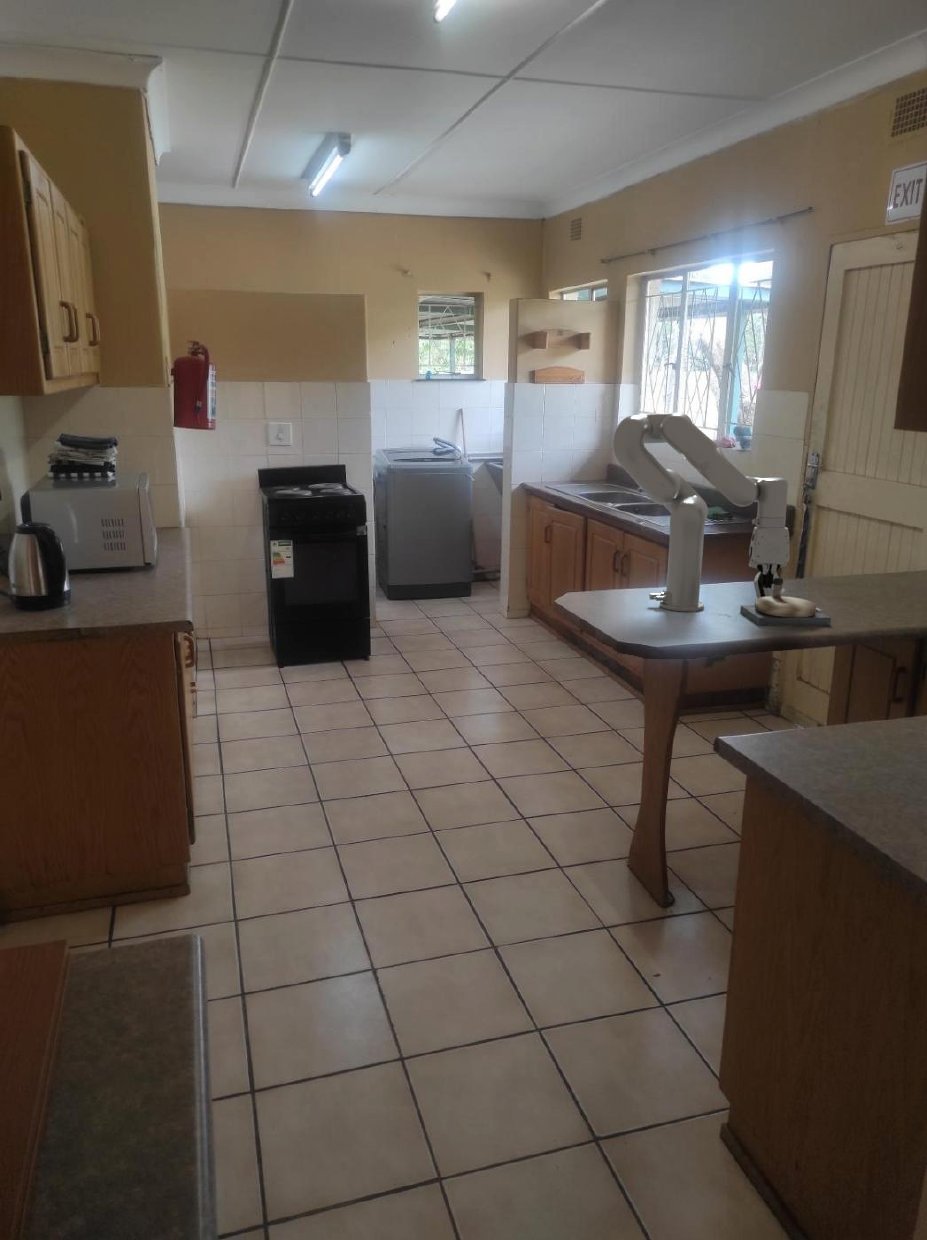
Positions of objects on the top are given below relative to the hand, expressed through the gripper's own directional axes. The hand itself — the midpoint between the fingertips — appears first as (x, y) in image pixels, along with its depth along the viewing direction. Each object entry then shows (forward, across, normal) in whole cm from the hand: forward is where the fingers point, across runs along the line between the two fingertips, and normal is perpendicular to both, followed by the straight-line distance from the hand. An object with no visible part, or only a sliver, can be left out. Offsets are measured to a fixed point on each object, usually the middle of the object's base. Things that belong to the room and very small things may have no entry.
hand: (766, 587), depth 247 cm
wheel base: (+8, +4, -5) cm, 10 cm away
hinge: (+8, +8, +18) cm, 22 cm away
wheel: (+5, +4, -5) cm, 8 cm away
